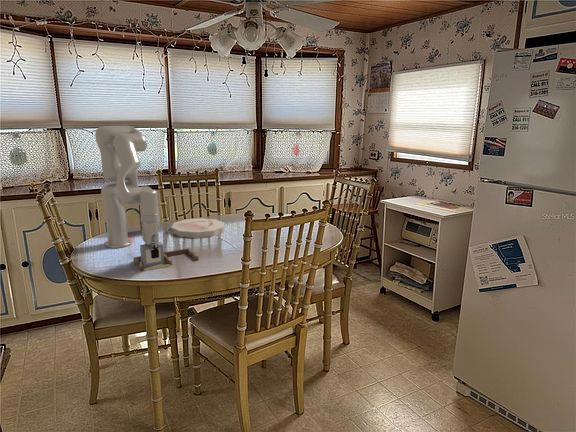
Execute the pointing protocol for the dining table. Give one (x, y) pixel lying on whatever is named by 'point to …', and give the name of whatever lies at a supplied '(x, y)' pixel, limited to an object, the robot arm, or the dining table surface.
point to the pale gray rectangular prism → (146, 255)
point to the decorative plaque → (198, 228)
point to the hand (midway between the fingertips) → (152, 254)
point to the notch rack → (166, 258)
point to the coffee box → (141, 222)
